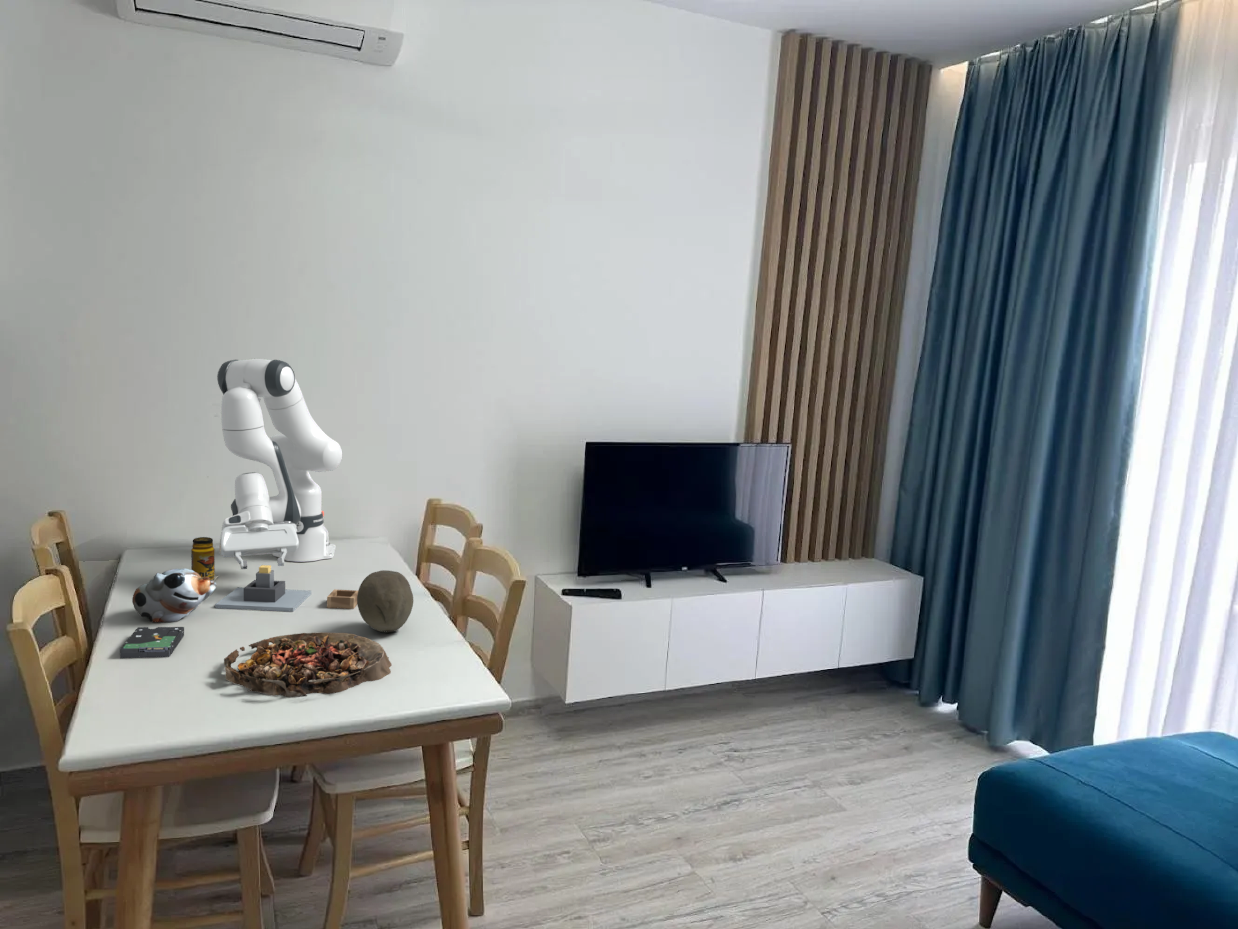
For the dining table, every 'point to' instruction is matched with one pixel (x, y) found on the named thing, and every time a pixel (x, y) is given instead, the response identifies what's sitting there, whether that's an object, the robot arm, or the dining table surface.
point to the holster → (342, 599)
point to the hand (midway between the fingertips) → (262, 566)
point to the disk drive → (152, 642)
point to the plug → (265, 577)
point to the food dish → (309, 664)
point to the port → (264, 598)
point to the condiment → (203, 557)
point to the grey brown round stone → (385, 600)
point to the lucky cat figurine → (172, 595)
